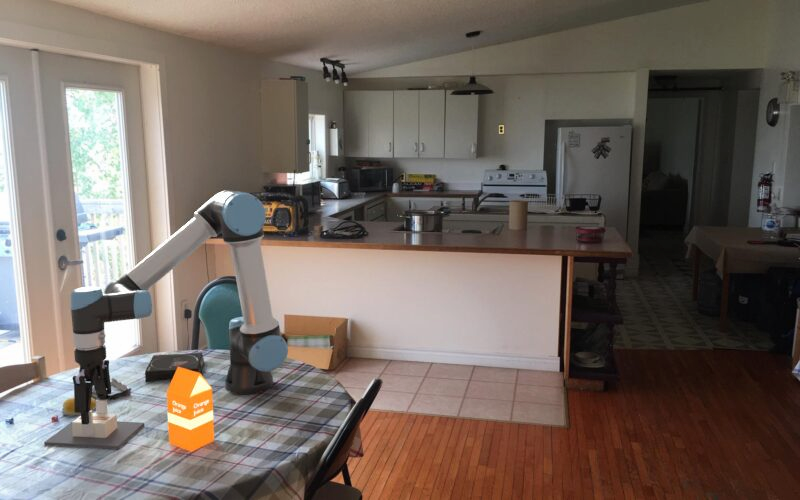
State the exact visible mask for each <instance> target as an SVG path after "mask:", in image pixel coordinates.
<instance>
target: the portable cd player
mask: <svg viewBox="0 0 800 500" xmlns="http://www.w3.org/2000/svg"><path fill="white" fill-rule="evenodd" d="M204 361H205V358H204V355H203V353H202V352H196V353H195V352H194V353H193V352H192V353H191V352H190V353H188V352H187V353H173V354H171V353H170V354H154V355H152V357H151V359H150V361H149V363H148V364H147V367H146V369H144V370H145V371H144V379H145V382H162V381H163V382H165V381H172V379H173V377H174V375H175V372H176V370H177V368H178V367H181V368H184V369H188V370H191V371H195V372H198V373H200V374H201V373H202V369H203V368H202V367H203V365H204Z"/></svg>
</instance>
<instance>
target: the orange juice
mask: <svg viewBox="0 0 800 500" xmlns="http://www.w3.org/2000/svg"><path fill="white" fill-rule="evenodd" d="M170 381H171V382H170V383H169V386H168V388H167V390H166V402H167V404H166V405H167V424H168V426H167V427H168V443H169V444H171V445H174V446H175V447H178V448H181V449H183V450H186V451H188V452H194V451H196V450H198V449H200V448H202V447H204V446H206V445H208V444H210V443H211V442H214V441H215V430H214V428H215V427H214V408H213V407H214V405H213V402H214V401H213V387H212V386H211V385H210V384H209V383H208V382H207V380H206V379H205V378H204V376H203V375H202V374H201V372H200V373H198V372H195V371H191V370H188V369H184V368H181V367H178V368H177V370H176V372H175V375H174V377H173V379H172V380H170Z"/></svg>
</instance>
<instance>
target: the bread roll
mask: <svg viewBox="0 0 800 500" xmlns="http://www.w3.org/2000/svg"><path fill="white" fill-rule="evenodd" d="M90 410H91V411H92V412H93V411H94V410H96V399H95V397H94V398H93V396H92V397H91V406H90ZM61 411H62V414H64V415H65V416H71V417H72V416H80V415H81V413H75V408H74V397H72V398H68V399H65V401H64V402H63V404H62V410H61Z"/></svg>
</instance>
